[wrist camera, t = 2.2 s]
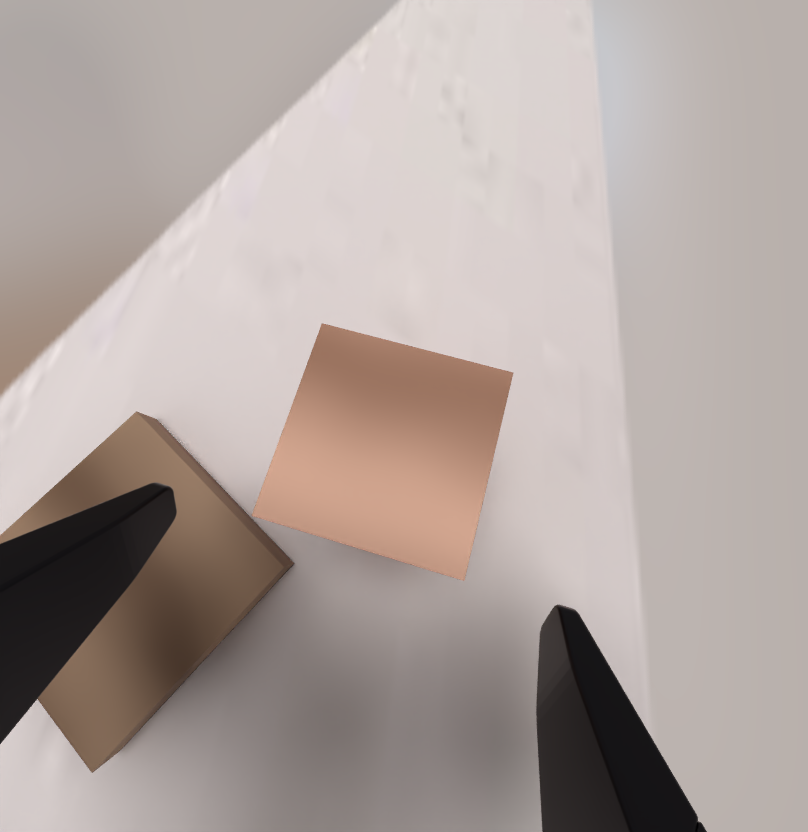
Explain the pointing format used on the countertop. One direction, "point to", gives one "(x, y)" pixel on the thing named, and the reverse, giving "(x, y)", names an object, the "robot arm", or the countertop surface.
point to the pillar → (387, 450)
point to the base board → (153, 588)
